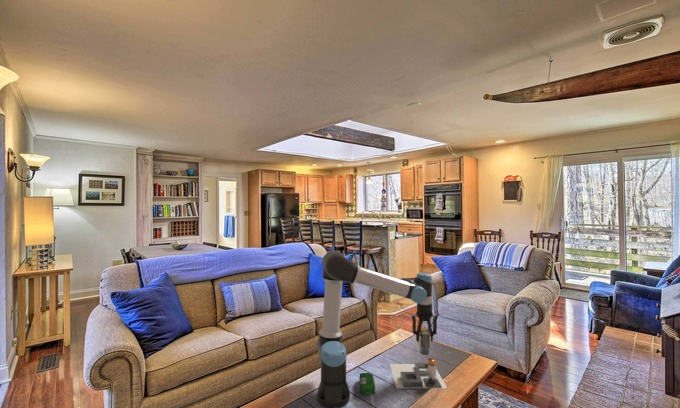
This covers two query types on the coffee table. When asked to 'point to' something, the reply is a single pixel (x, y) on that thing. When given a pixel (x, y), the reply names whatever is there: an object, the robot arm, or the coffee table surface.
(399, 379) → the dock board
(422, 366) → the socket
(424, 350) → the cylinder
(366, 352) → the coffee table surface
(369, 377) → the snack package
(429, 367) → the lock pin
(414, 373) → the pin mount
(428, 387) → the pin pad
